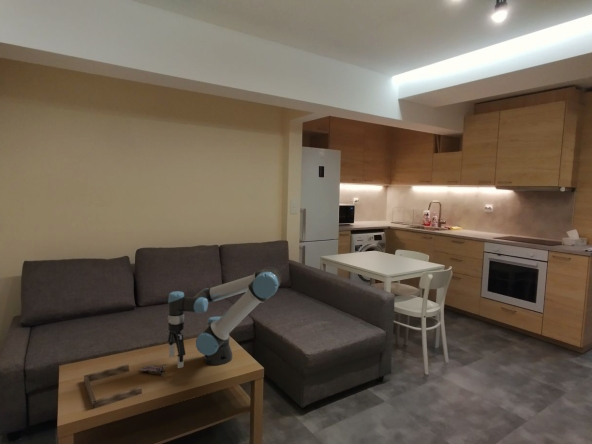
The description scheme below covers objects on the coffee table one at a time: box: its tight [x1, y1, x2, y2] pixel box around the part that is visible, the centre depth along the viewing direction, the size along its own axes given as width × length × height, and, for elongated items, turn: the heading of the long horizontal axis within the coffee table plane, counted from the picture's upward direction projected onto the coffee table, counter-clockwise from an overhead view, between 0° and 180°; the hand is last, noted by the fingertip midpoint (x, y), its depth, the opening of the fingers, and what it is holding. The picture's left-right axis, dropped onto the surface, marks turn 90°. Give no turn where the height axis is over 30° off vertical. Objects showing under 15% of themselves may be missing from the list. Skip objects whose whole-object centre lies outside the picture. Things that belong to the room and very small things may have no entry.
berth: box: [83, 363, 143, 410], centre depth 164 cm, size 20×27×3 cm
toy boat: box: [139, 364, 167, 376], centre depth 178 cm, size 13×6×4 cm, turn 72°
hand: (176, 361), depth 182 cm, fingers open, 13 cm apart
